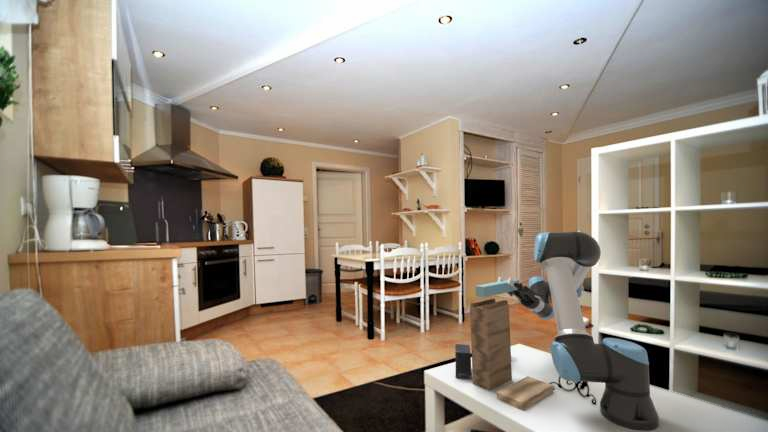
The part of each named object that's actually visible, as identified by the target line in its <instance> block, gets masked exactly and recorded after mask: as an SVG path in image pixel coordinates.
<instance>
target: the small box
mask: <svg viewBox="0 0 768 432" xmlns="http://www.w3.org/2000/svg"><path fill="white" fill-rule="evenodd" d="M454 347H455V350H454V352H455V378H458V379H472V352H471V347H470V344H460V343H455V346H454Z"/></svg>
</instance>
